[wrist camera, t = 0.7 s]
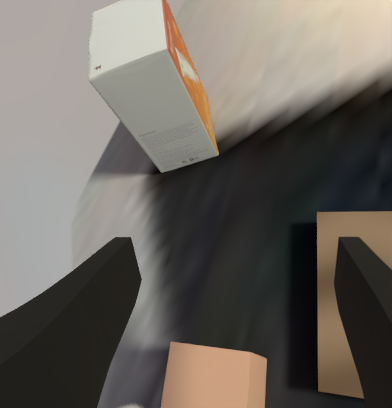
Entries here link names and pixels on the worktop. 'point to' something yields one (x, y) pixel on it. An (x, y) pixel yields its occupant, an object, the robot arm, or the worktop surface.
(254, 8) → the worktop surface
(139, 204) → the worktop surface
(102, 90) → the small box
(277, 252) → the worktop surface
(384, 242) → the tan board
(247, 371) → the terracotta block
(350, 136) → the worktop surface
